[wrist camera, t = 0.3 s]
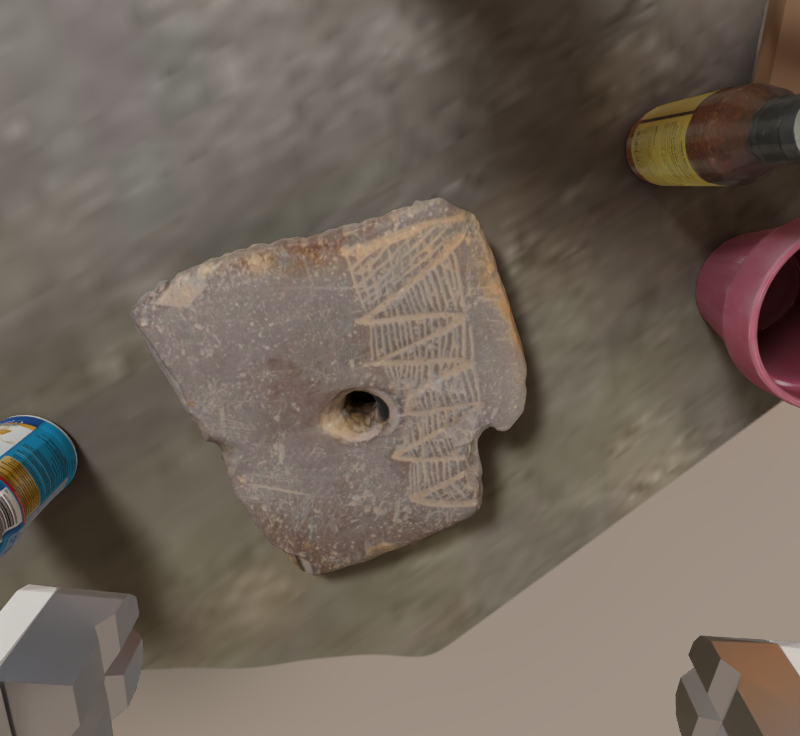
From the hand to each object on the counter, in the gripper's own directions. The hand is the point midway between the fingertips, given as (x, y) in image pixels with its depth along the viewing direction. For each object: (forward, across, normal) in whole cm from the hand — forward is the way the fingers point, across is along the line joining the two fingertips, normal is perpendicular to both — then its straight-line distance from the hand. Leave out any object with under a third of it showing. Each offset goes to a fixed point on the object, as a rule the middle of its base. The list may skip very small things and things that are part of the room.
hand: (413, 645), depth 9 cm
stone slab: (+46, +3, +16) cm, 48 cm away
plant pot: (+48, -30, +5) cm, 57 cm away
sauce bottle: (+48, -20, -6) cm, 53 cm away
